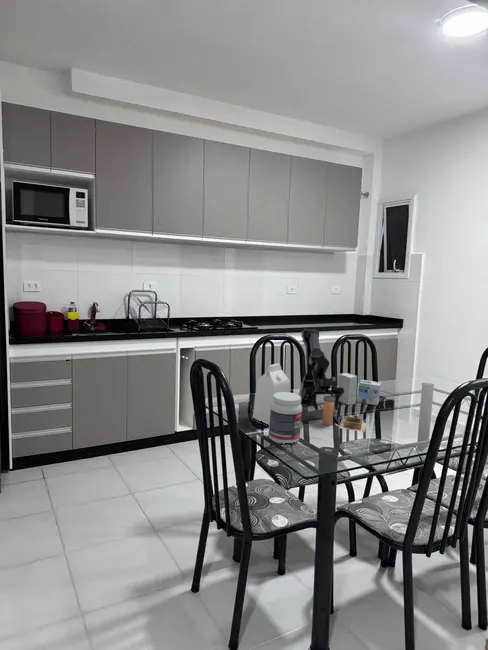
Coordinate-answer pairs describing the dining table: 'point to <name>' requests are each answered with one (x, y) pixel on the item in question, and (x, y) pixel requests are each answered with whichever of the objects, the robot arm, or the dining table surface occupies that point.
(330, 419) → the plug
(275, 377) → the milk
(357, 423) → the square wooden holder
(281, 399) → the supplement tub
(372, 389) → the light bulb box
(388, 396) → the dining table surface
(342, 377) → the skincare box
